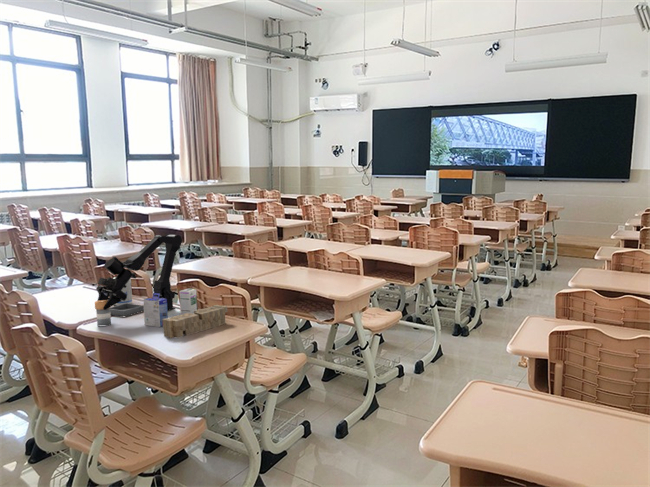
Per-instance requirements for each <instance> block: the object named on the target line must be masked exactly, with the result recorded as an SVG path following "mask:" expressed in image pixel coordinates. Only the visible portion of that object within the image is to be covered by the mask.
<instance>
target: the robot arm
mask: <svg viewBox="0 0 650 487" xmlns="http://www.w3.org/2000/svg"><path fill="white" fill-rule="evenodd" d="M182 243H183V237H181V236H180V235H179V234H168V235H166V236H165V235H162V234H161V235H159V234H157V235H155V236H154V237H153V238H152V239H151V240H150V241H149V242H148V243H147V244H146V245H145V246H144V247H143V248H142V249H141V250H139V252H137V253H136V254H133V255H131V256H130V257H128V258H127V259H126V260H125V261H121V260H119V259H118V257H116V256H112V258H110V259H109V260H107V261H106V262H105V263H104V265H103V266H104V268H105V269H106V270H107V271H108V272H109V273H111V274H112V275H113V276H115V277H116V278H115V277H113V278H115V279H113V278H112V277H109V276H108V278H104V277H99V279H98V282H97V287H96V289H95V291H96V292H97V293H98V298H97V300H96V301H99V300H108V301H107V303H106V304H105V306H104V308H103V309H104V310H106V309H108V308H109V307H110V308H111V307H114V306H116V305H115V304H116V303H118V302H121V300H123V301H125V300H126V299H127V295H126V294H125V293H124V292H123V291H121V290H122V289H123V288H126V287H127V286H126V284H127V282H128V281H129V280H130V278H131V279H137V276H136V272H137V271H140V270H141V269H142V267H143V266H144V265H145V262H146V260H147V259H148V258H149V256H151V255H152V254H153V252H155V251H156V250H157V249H158V248H159V247H160V246H161V245H162V244H164V246H165V255H164V259H163V263H162V267H161V272H160V275H159V278H158V279H157V280H154V283H153V286H152V289H153V290H152V291H153V294H154V293H159V294H160V296H159V298H164V299H167V311H172V310H176V307H174V302H173V299H175V297H176V293H175V292H173V291H172V290H171V289H172V288H171V287H172V286H171V281H170V280H171V276H172V275H171V274H172V271H173V267H174V264H175V263H174V262H175V258H176V255H177V254H176V253H177V252H178V250H179V249H180V248H181V245H182ZM132 271H136V272H132ZM155 296H157V297H158V295H155Z"/></svg>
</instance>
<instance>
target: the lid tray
mask: <svg viewBox="0 0 650 487" xmlns="http://www.w3.org/2000/svg"><path fill="white" fill-rule="evenodd" d="M141 311H143V312H144V304H135V303H131V304H128V303H126V304H122V305H118V306H116V305H114V306H111V307H110V314H111V316H113V317H120V316H126V317H129V316H128V315H130V316H132V315H131V314H133V315H135V314H134V313H136V314H138V313H137V312H140V313H142V312H141Z"/></svg>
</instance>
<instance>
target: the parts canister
mask: <svg viewBox="0 0 650 487" xmlns="http://www.w3.org/2000/svg"><path fill="white" fill-rule="evenodd" d="M110 308H111V307H110ZM110 308H108V309H106V310H104V309H101V310H98V309H95V313H96V322H97V323H96V324H97V326H98V325H108V326H110V325H112V317H111V316H112V315H111V314H110ZM109 324H110V325H109Z"/></svg>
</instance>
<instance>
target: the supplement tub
mask: <svg viewBox="0 0 650 487" xmlns="http://www.w3.org/2000/svg"><path fill="white" fill-rule="evenodd" d="M115 278H116V276H115V277H113V279H115ZM126 286H127V287H126V288H123V289H122V290H121V291H123V292H124V293H125V294H126V295H127V299H126V300H125V301H123V300H121V302H118V303H116V304H115V305H114V306H118V305H122V304H126V303H128V304H133V292H132V289H133V288H132V278H130V280H129V281H128V282H127V284H126Z"/></svg>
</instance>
